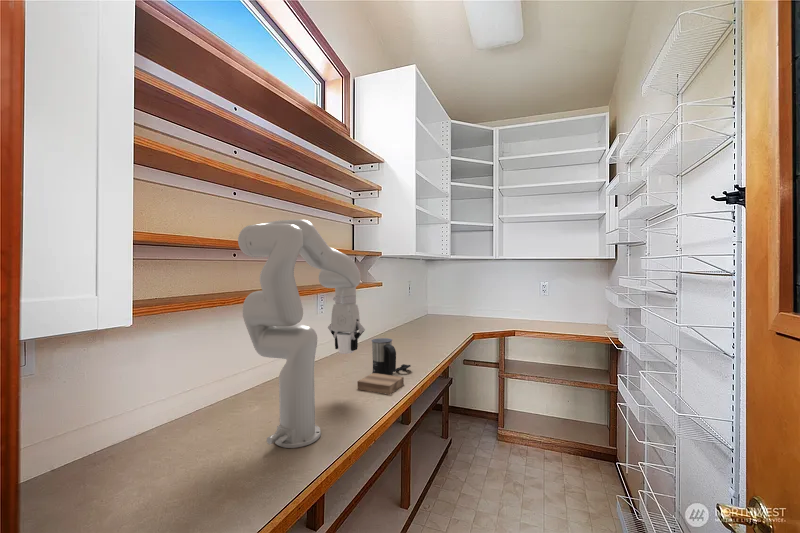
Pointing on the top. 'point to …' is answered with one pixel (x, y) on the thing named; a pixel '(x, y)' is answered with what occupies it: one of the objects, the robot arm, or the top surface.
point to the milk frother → (385, 357)
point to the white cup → (344, 342)
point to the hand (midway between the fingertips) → (346, 348)
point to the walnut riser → (380, 383)
